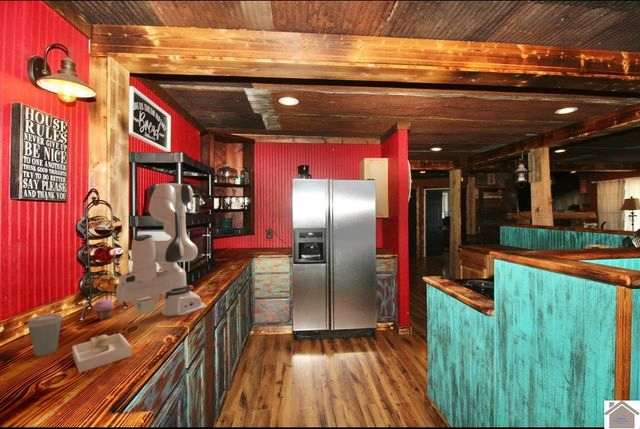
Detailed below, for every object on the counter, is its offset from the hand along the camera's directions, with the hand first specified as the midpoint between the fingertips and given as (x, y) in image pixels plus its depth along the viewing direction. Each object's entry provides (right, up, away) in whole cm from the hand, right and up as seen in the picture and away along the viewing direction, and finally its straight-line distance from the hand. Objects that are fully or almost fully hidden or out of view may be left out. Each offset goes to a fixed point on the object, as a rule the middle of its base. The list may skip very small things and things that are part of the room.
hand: (146, 306), depth 124 cm
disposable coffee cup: (-38, -18, -4) cm, 42 cm away
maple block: (-16, -16, -5) cm, 23 cm away
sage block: (0, -2, 0) cm, 2 cm away
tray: (-13, -17, -8) cm, 23 cm away
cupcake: (-43, -17, +35) cm, 58 cm away
